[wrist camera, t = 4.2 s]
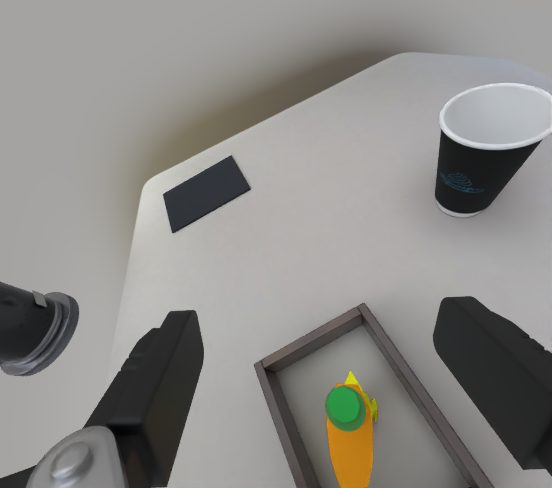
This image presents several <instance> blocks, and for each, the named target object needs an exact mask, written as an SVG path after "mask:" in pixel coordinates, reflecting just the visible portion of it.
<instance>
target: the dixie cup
mask: <svg viewBox="0 0 552 488" xmlns="http://www.w3.org/2000/svg"><path fill="white" fill-rule="evenodd" d="M439 123H440V127H441V137H440V147H439V157H438V167H437V178H436V188H435V197H436V201H437V205H438V206H439V208H440V209H441V210H442V211H443V212H445V213H447V214H449V215H451V216H455V217H471V216H474V215H476V214H478V213H480V212H481V211H482V210H484V209H485V208H487V207H488V206H489V205H490V204H491V203H492V202H493V200H494V199H495V198H496V197H497V195H498V194H499V193H500V192H501V191H502V189H503V188H504V187H505V186H506V184H507V183H508V182H509V181H510V179H511V178H512V177H513V176H514V174H515V173H516V172H517V171H518V169H519V168H520V167H521V166H522V165H523V163H524V162H525V161H526V160H527V158H528V157H529V156H530V155H531V153H532V152H533V151H534V150H535V148H536V147H537V146H538V145H539V144H540V142H541V141H542V140H543V139H544V138H546V137H547V136H549V135H550V134H551V133H552V95H551V94H550V93H548V92H546V91H544V90H542V89H540V88H537V87H533V86H529V85H524V84H517V83H496V84H488V85H483V86H478V87H475V88H472V89H469V90H466V91H464V92H462V93H460V94H458V95H456V96H455V97H453V98H452V99H451V100H449V101H448V102H447V103H446V104H445V105H444V107H443V108H442V110H441V112H440V115H439Z"/></svg>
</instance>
